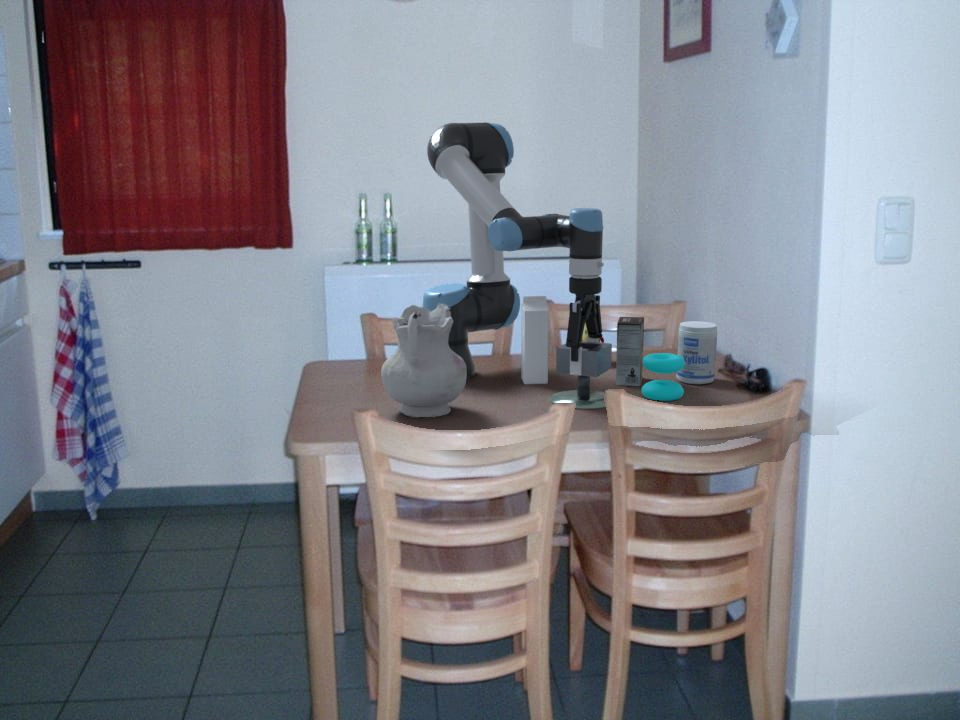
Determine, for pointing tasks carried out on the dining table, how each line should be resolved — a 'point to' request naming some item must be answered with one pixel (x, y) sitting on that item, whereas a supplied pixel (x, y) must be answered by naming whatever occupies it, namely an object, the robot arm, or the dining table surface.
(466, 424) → the dining table surface
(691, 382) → the supplement tub
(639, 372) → the coffee box
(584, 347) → the steel link
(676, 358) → the donuts
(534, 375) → the milk
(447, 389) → the ceramic pitcher
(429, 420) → the dining table surface
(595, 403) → the round base stand
